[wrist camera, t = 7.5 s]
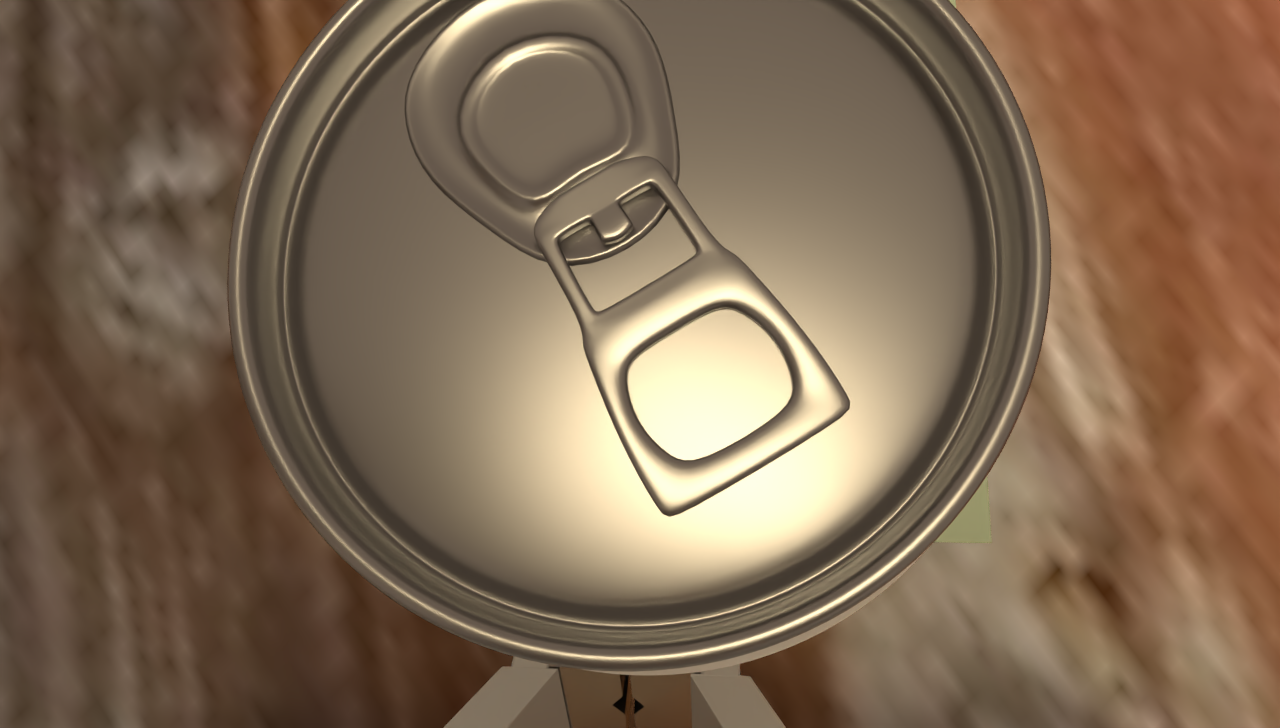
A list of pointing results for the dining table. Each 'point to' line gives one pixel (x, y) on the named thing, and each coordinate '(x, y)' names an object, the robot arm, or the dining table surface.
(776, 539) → the can
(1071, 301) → the dining table surface
